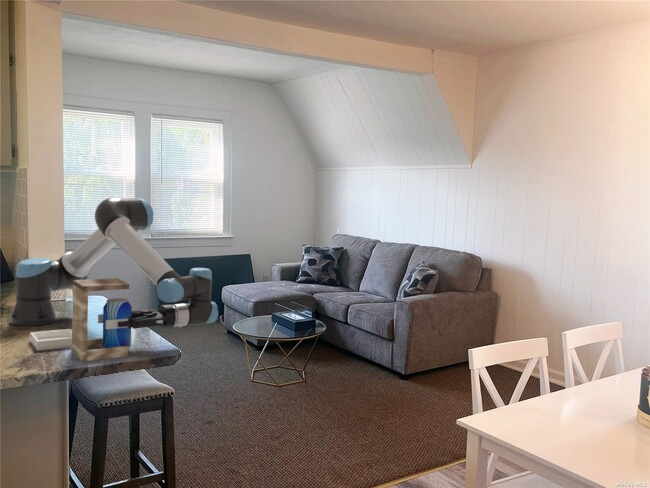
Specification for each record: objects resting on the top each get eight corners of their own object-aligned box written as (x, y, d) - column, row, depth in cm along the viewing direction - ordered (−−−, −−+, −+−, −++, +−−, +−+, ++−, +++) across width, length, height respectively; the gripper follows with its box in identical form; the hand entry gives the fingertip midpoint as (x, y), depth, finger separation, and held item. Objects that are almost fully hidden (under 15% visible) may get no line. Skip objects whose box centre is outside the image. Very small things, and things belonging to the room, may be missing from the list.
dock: (81, 361, 165) (83, 286, 163) (71, 350, 175) (72, 279, 173) (127, 355, 173) (129, 284, 171) (115, 345, 183) (116, 278, 181)
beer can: (109, 345, 181) (110, 297, 180) (134, 347, 181) (135, 298, 180) (97, 352, 173) (98, 301, 172) (124, 354, 172) (125, 303, 171)
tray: (30, 341, 182) (30, 332, 182) (69, 337, 190) (70, 328, 190) (37, 350, 173) (37, 341, 172) (78, 346, 180) (79, 337, 180)
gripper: (184, 333, 179) (111, 341, 165) (161, 320, 195) (92, 326, 182) (185, 310, 178) (112, 316, 164) (161, 299, 195) (93, 303, 181)
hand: (102, 321), depth 173 cm, fingers closed on beer can, 8 cm apart
